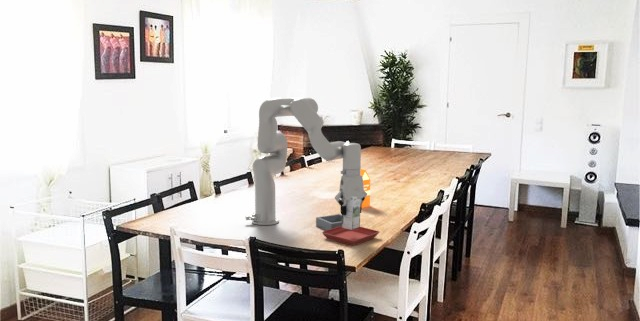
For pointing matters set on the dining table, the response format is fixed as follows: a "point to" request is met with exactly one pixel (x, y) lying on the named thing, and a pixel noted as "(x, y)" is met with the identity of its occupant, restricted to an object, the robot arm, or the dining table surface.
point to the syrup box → (352, 214)
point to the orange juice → (366, 187)
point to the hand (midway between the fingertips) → (351, 213)
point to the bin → (329, 221)
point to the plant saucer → (350, 235)
